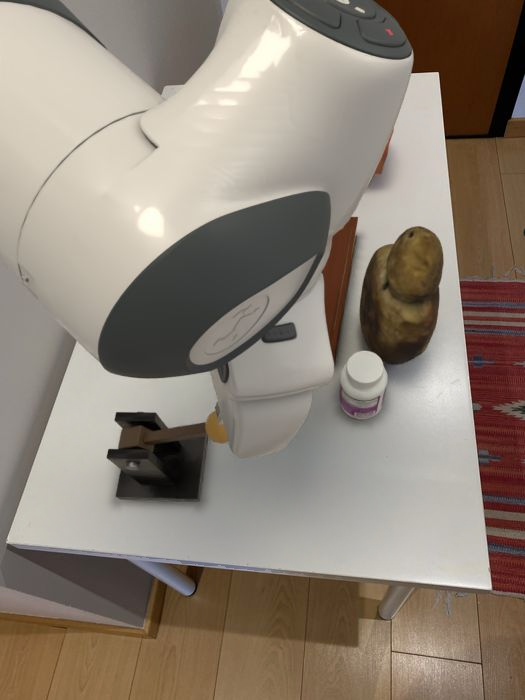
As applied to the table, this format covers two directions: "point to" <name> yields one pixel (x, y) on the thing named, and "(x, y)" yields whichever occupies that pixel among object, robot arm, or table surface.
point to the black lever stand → (158, 464)
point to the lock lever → (171, 434)
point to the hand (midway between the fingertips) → (212, 365)
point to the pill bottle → (363, 385)
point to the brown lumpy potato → (402, 296)
